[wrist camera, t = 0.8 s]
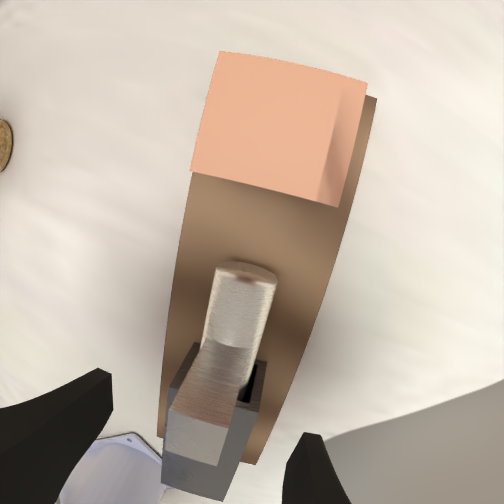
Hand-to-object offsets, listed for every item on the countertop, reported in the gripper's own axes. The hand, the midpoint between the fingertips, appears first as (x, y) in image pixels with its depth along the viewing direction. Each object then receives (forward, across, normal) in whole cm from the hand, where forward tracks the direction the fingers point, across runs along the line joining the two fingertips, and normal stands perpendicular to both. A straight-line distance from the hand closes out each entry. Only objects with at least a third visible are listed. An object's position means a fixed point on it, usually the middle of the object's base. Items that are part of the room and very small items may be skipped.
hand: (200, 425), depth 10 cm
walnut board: (+9, 0, -1) cm, 9 cm away
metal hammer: (+7, 0, +3) cm, 8 cm away
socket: (+8, 0, -10) cm, 13 cm away
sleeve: (+8, 0, +7) cm, 10 cm away
